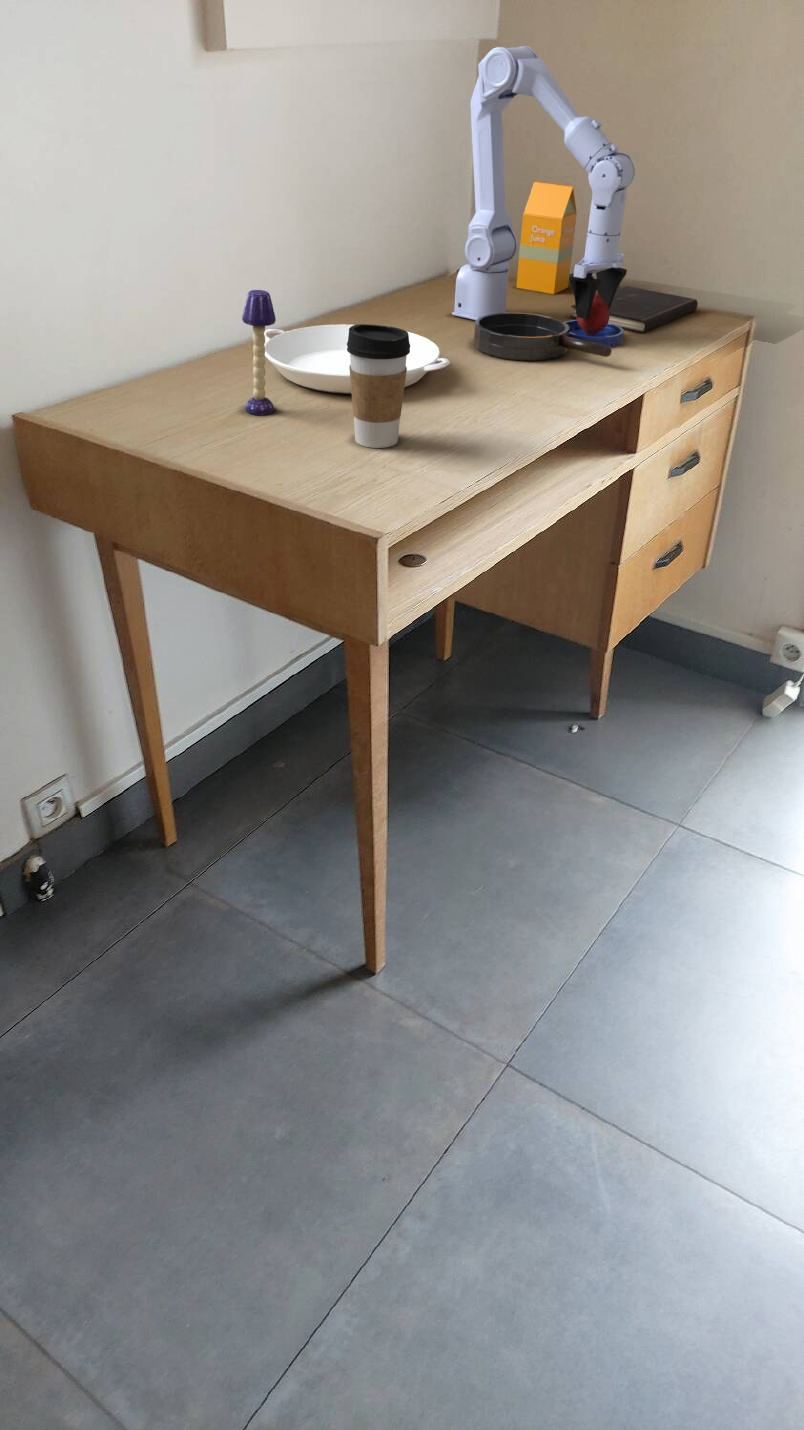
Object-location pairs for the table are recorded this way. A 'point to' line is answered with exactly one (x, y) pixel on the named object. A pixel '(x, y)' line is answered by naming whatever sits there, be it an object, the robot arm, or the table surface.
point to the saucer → (598, 334)
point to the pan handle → (585, 346)
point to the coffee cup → (377, 382)
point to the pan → (336, 357)
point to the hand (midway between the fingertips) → (592, 313)
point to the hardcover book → (645, 308)
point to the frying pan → (520, 336)
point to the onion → (595, 317)
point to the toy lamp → (259, 347)
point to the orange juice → (547, 238)
